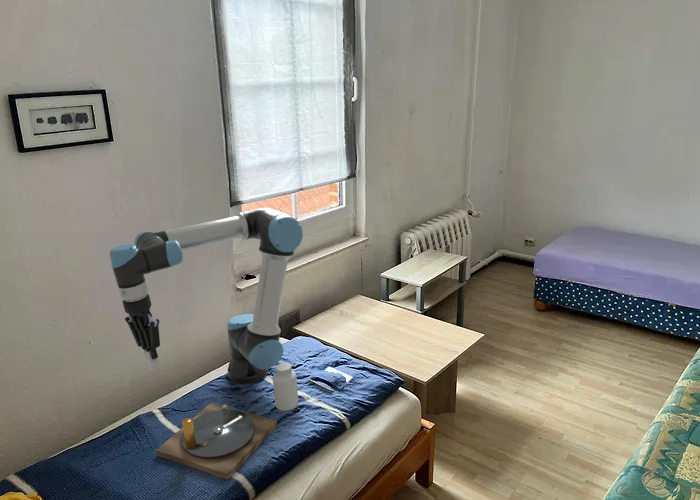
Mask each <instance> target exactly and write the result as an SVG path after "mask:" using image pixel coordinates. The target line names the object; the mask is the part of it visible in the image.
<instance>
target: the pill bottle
mask: <svg viewBox="0 0 700 500" xmlns="http://www.w3.org/2000/svg"><path fill="white" fill-rule="evenodd" d="M297 379H298V378H297V374H296V372H295V371H294V370H293V369H292V364H290V363H289V362H281V363H277V364H276V365H275V373H274V374H273V375H272V384H273V385H272V386H273V397H274V405H275V408H276V409H277V410H279V411H282V412H289V411H292V410H294V409H296V408H297V407H298V405H299V391H298V380H297Z"/></svg>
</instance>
